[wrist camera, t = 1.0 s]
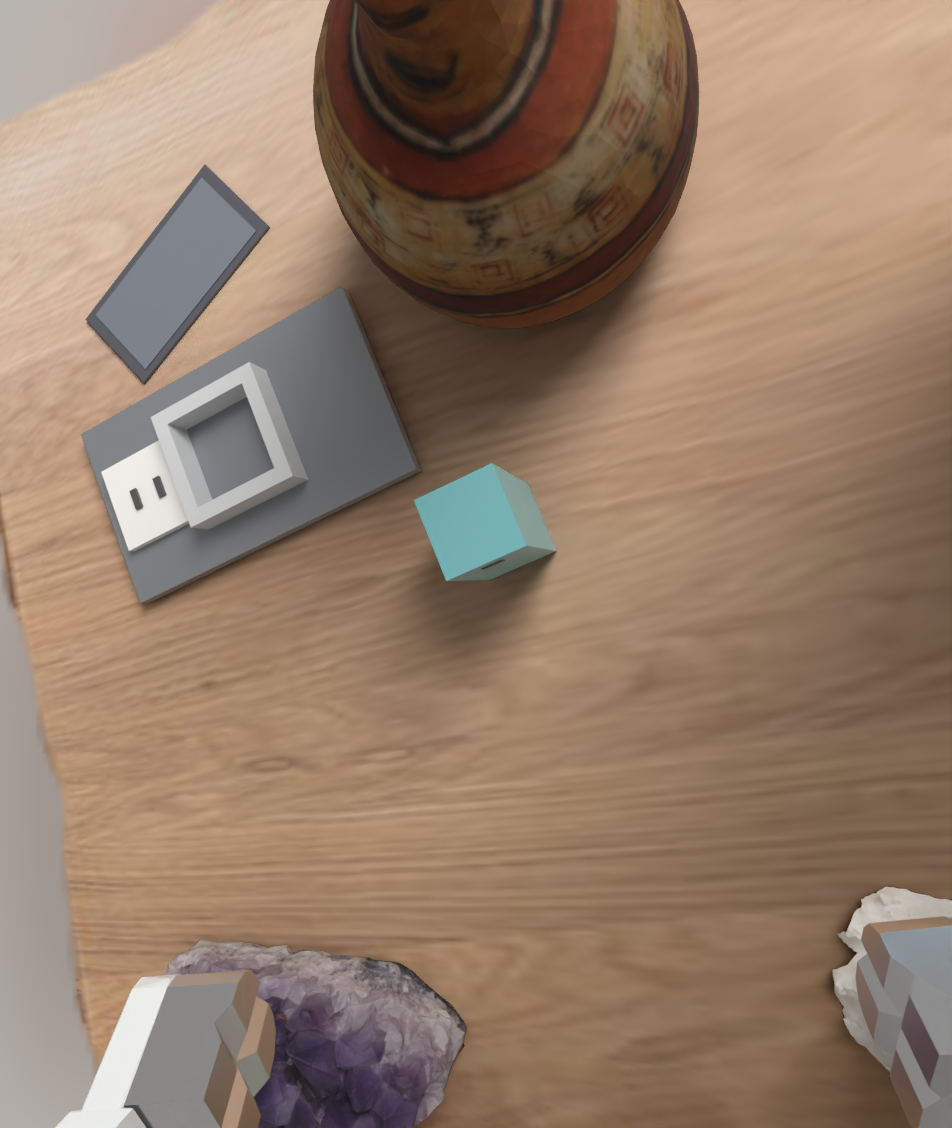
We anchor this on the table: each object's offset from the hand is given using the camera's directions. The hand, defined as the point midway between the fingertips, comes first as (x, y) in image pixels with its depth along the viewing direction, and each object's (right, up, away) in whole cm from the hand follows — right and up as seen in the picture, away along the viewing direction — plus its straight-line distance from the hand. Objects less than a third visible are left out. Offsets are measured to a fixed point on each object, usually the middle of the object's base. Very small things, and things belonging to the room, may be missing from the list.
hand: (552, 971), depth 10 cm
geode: (-11, -24, +40) cm, 48 cm away
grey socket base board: (-17, +13, +42) cm, 47 cm away
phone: (-22, +26, +44) cm, 56 cm away
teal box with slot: (+1, +7, +37) cm, 38 cm away
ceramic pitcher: (+2, +29, +37) cm, 47 cm away
